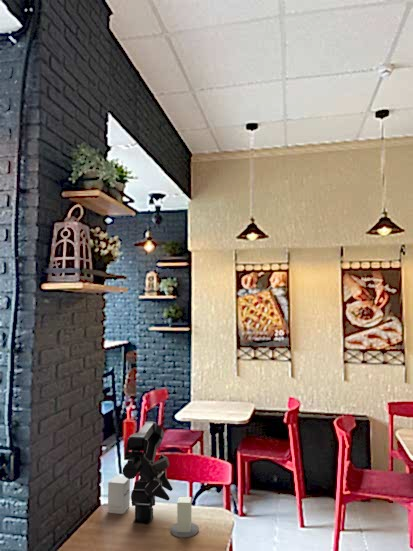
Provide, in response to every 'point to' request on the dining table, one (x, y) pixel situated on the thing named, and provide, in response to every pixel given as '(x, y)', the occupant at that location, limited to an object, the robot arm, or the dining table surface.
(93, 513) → the dining table surface
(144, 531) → the dining table surface
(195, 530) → the slate coaster
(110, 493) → the supplement box
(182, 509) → the block
